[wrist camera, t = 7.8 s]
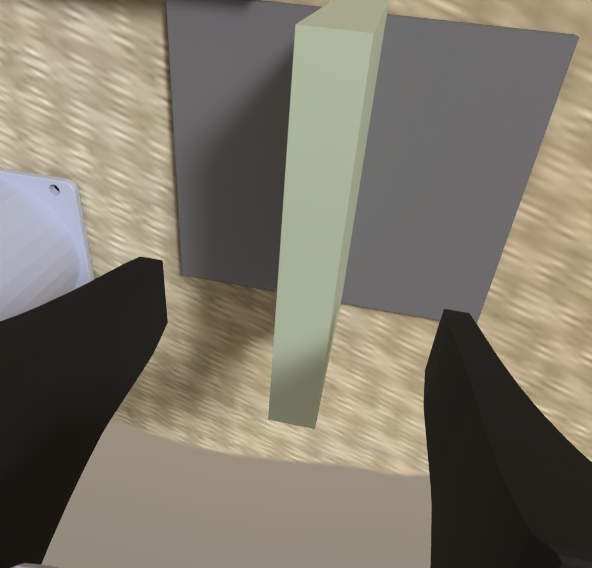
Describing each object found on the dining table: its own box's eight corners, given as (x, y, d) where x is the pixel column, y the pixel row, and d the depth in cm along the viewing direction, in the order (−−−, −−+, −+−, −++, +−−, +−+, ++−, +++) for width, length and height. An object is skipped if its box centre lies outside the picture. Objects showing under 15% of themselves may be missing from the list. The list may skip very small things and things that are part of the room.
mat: (186, 268, 25) (182, 274, 25) (172, -10, 18) (165, -8, 18) (474, 318, 24) (475, 326, 23) (574, 34, 17) (579, 37, 16)
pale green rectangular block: (308, 288, 24) (268, 419, 17) (341, -5, 17) (295, 24, 10) (342, 294, 23) (314, 429, 17) (389, 0, 17) (373, 33, 10)
